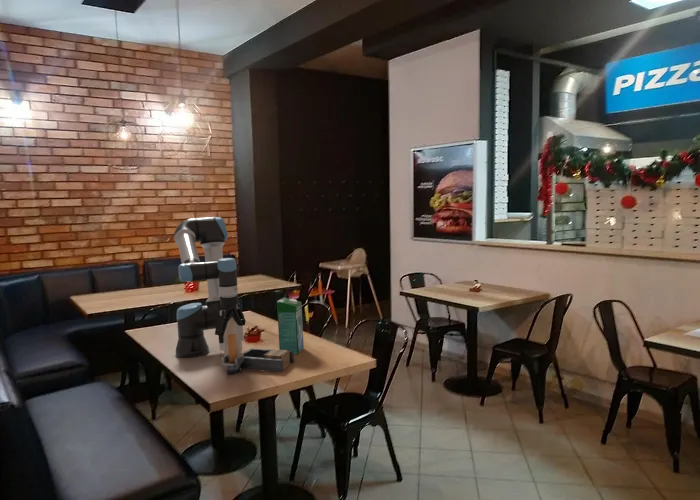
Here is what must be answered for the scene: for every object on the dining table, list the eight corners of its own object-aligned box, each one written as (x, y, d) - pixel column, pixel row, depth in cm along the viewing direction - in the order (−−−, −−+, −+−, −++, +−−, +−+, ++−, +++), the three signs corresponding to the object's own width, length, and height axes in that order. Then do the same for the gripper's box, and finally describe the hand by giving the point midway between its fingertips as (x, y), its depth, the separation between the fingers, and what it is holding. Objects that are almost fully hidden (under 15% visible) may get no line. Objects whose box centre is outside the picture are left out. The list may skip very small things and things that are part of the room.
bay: (236, 368, 223) (236, 357, 223) (252, 358, 236) (251, 348, 235) (281, 372, 217) (280, 360, 216) (294, 362, 229) (294, 351, 228)
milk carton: (298, 354, 240) (295, 301, 237) (279, 353, 242) (276, 301, 239) (303, 348, 249) (301, 297, 246) (285, 347, 250) (283, 297, 248)
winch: (221, 374, 217) (220, 358, 216) (230, 368, 224) (229, 352, 223) (236, 375, 214) (235, 359, 213) (246, 369, 221) (245, 353, 220)
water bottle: (249, 355, 241) (245, 296, 237) (238, 361, 232) (235, 300, 229) (229, 354, 244) (226, 295, 241) (219, 360, 236) (215, 299, 232)
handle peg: (234, 364, 216) (233, 336, 215) (227, 363, 217) (226, 335, 216) (238, 361, 220) (237, 334, 218) (231, 361, 221) (230, 333, 219)
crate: (264, 368, 222) (264, 354, 221) (273, 362, 230) (272, 349, 229) (281, 370, 219) (281, 356, 219) (290, 363, 227) (289, 350, 226)
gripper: (220, 302, 202) (223, 355, 205) (251, 289, 226) (254, 337, 228) (203, 301, 205) (207, 354, 207) (236, 289, 228) (239, 336, 231)
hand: (232, 345), depth 218 cm, fingers open, 13 cm apart
